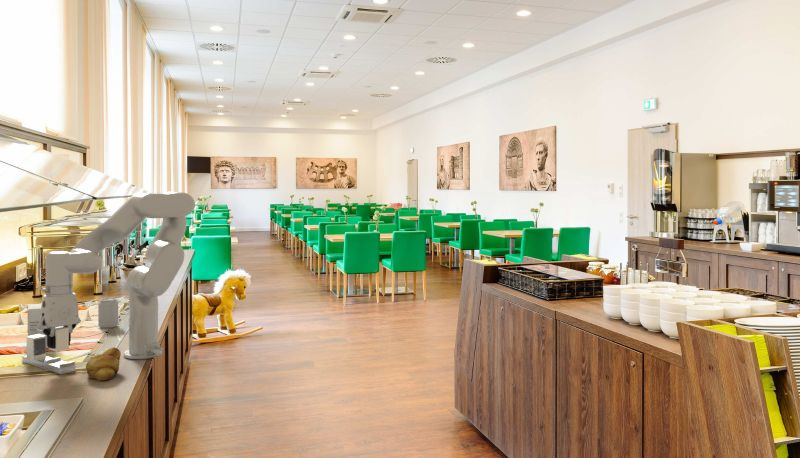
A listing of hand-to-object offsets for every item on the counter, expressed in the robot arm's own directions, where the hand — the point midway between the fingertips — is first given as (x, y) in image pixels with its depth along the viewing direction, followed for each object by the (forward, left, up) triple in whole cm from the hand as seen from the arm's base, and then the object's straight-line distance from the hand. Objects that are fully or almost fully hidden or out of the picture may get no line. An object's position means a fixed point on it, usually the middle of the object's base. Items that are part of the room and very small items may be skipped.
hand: (59, 345), depth 188 cm
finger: (0, 0, -1) cm, 1 cm away
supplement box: (+31, -12, -8) cm, 35 cm away
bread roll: (-16, -4, -8) cm, 19 cm away
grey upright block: (+38, -43, -8) cm, 58 cm away
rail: (+6, 0, -8) cm, 10 cm away
